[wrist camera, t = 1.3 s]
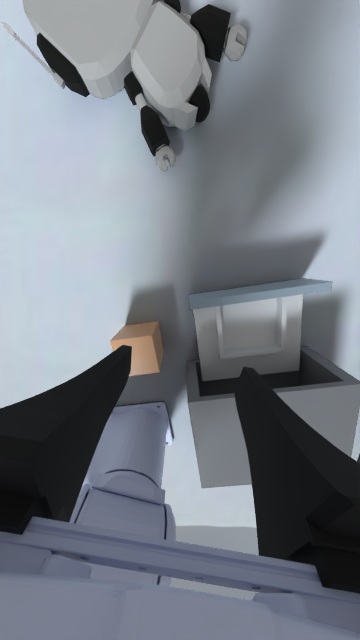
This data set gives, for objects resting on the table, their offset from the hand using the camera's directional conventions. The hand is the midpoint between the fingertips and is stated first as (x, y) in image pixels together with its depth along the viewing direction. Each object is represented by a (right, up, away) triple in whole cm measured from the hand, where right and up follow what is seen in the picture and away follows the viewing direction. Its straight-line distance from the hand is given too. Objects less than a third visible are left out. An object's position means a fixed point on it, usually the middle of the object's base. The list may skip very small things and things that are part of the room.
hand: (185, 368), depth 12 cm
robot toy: (-4, +26, +5) cm, 27 cm away
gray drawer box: (+9, -7, +14) cm, 19 cm away
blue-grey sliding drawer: (+8, +2, +11) cm, 14 cm away
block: (-5, +1, +12) cm, 13 cm away
